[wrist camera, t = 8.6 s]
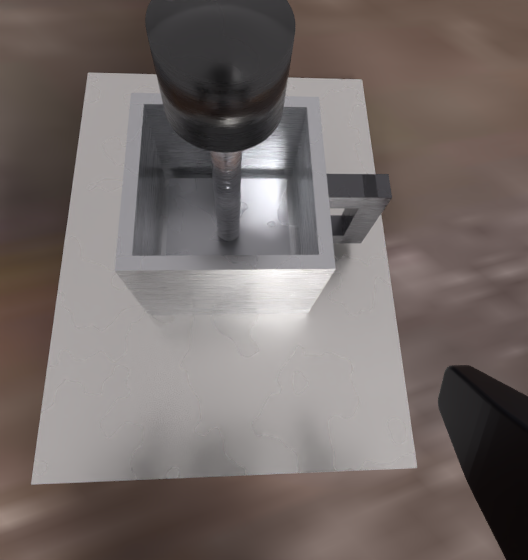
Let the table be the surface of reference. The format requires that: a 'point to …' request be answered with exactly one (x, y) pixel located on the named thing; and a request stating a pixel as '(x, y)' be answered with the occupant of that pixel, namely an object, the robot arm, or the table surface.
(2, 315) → the table surface
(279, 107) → the plunger
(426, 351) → the table surface
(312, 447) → the white socket holder tray
